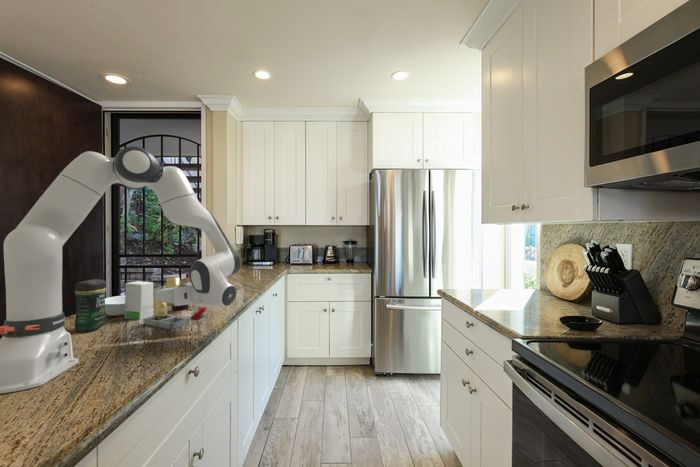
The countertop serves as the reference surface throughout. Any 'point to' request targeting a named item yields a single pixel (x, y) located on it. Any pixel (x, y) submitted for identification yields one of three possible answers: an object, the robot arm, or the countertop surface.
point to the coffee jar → (90, 305)
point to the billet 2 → (172, 285)
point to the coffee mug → (180, 308)
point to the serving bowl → (115, 305)
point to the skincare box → (138, 300)
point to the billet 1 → (160, 310)
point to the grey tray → (167, 322)
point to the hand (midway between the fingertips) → (171, 289)
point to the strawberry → (199, 313)
